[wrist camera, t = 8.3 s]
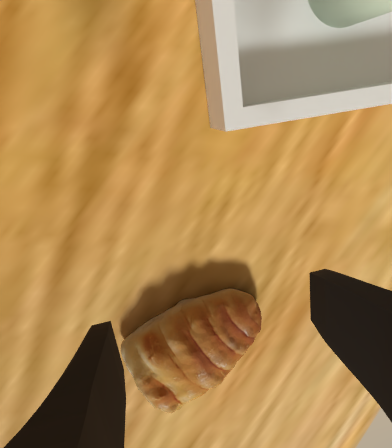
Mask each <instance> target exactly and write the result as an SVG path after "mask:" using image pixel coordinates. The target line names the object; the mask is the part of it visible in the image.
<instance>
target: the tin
mask: <svg viewBox="0 0 392 448" xmlns="http://www.w3.org/2000/svg"><path fill="white" fill-rule="evenodd" d="M308 2H309V5H310V7H311V9H312V11H313V13H314V14H315V16H316V17H317V18H318V19H319V20H320V21H321V22H323V23H324V24H326V25H328V26H330V27H334V28H345V27H348V26H352V25H355V24H357V23H360V22H363V21H366V20H369V19H372V18H375V17H378V16H380V15H383V14H386V13H389V12H392V0H308Z"/></svg>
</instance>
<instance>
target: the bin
mask: <svg viewBox="0 0 392 448" xmlns="http://www.w3.org/2000/svg"><path fill="white" fill-rule="evenodd" d="M195 3H196V11H197V20H198V28H199V36H200V45H201V53H202V61H203V70H204V78H205V86H206V95H207V103H208V111H209V120H210V128H213V129H217V130H222V131H231V130H237V129H243V128H249V127H255V126H261V125H267V124H273V123H279V122H285V121H291V120H297V119H303V118H309V117H315V116H321V115H327V114H333V113H339V112H345V111H351V110H357V109H363V108H369V107H374V106H380V105H386V104H392V12H389V13H386V14H383V15H380V16H378V17H375V18H372V19H369V20H366V21H363V22H360V23H357V24H355V25H352V26H348V27H345V28H334V27H330V26H328V25H326V24H324V23H323V22H321V21H320V20H319V19H318V18H317V17H316V16H315V14H314V13H313V11H312V9H311V7H310V5H309V2H308V0H195Z"/></svg>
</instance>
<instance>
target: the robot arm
mask: <svg viewBox="0 0 392 448" xmlns="http://www.w3.org/2000/svg"><path fill="white" fill-rule="evenodd" d="M310 308H311V321H312V322H313V324H314V325H315V327H316V329H317V330H318V332H319V333H320V335H321V336H322V338H323V339H324V341H325V342H326V343H327V344H328V346H329V347H330V348H331V349H332V350H333V352H334V353H335V354H336V355H337V356H338V357H339V359H340V360H341V361H342V362H343V363H344V364H345V365H346V367H347V368H348V369H349V370H350V371H351V372H352V373H353V375H354V376H355V377H356V378H357V379H358V380H359V381H360V383H361V384H362V385H363V386H364V387H365V388H366V389H367V391H368V392H369V393H370V394H371V395H372V397H373V398H374V399H375V400H376V401H377V403H378V404H379V405H380V407H381V408H382V409H383V410H384V412H385V413H386V415H387V416H388V418H389V419H390V420H391V422H392V291H390V290H387V289H384V288H381V287H378V286H375V285H372V284H369V283H366V282H364V281H361V280H358V279H355V278H352V277H349V276H346V275H344V274H341V273H338V272H334V271H331V270H327V269H323V270H319V271H315V272H311V273H310ZM125 410H126V392H125V379H124V369H123V365H122V361H121V358H120V354H119V350H118V347H117V343H116V339H115V336H114V332H113V328H112V325H111V321H109V322H105V323H100V324H96V325H92V326H91V328H90V329H89V331H88V332H87V334H86V336H85V338H84V340H83V341H82V343H81V345H80V347H79V348H78V350H77V352H76V353H75V355H74V357H73V358H72V360H71V362H70V363H69V365H68V366H67V368H66V370H65V371H64V373H63V374H62V376H61V377H60V379H59V380H58V382H57V383H56V385H55V386H54V388H53V389H52V390H51V392H50V393H49V395H48V396H47V398H46V399H45V400H44V402H43V403H42V404H41V406H40V407H39V408H38V409H37V411H36V412H35V413H34V414H33V416H32V417H31V418H30V419H29V420H28V422H27V423H26V424H25V425H24V426H23V427H22V429H21V430H20V431H19V432H18V433H17V434H16V435H15V436H14V437H13V438H12V439H11V440H10V442H9V443H8V444H7V445H6V446H5V447H4V448H124V436H125Z"/></svg>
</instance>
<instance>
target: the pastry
mask: <svg viewBox="0 0 392 448" xmlns="http://www.w3.org/2000/svg"><path fill="white" fill-rule="evenodd" d="M261 319H262V318H261V311H260V309H259V306H258V304H257V302H256V300H255V299H254V297H253V296H252V295H250V294H249V293H246V292H243V291H240V290H237V289H232V288H230V289H224V290H220V291H218V292H214V293H212V294H209V295H204V296H200V297H198V298H190V299H184V300H181V301H179V302H178V303H177V304H176V305H175V306H174V307H172V308H170V309H168V310H166V311H165V312H163V313H161V314H160V315H158V316H156V317H153V318H152V319H150V320H149V321H147V322H146V323H144V324H143V325H142V326H140V327H139V328H137V329H136V330H135V331H134V332H133V333H131V334H130V335H129V336H128V337H127V338H126V339H125V340H124V341H123V342H122V344H121V353H122V356H123V359H124V362H125V363H126V367H127V368H128V370H129V371H130V372H131V374H132V376H133V378H134V380H135V383H136V385H137V387H138V389H139V390H140V392H141V393H142V394H143V395H144V397H145V398H146V399H147V400H148V401H149V402H150V403H151V405H152V406H153V407H154V408H156V409H161V410H162V411H164V412H167V413H173V412H175V411H176V410H179V409H180V408H181V407H182V405H183V404H185V403H187V402H189V401H191V400H193V399H196V398H197V397H200V396H202V395H203V394H205V393H206V391H208V390H209V389H211V388H214V387H216V386H218V385H219V384H221V382H222V381H223V379H224V378H225V377H226V375H227V374H228V373H229V372H230V371H231V370H232V369H233V368H234V366H235V365H236V362H237V361H238V360H239V359H240V358H241V357H242V356H243V355H244V353H245V352H246V351H247V349H248V348H249V346H250V345H251V344H252V343H253V342H254V339H255V337H256V335H257V334H258V333H259V332H260V330H261Z"/></svg>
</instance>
